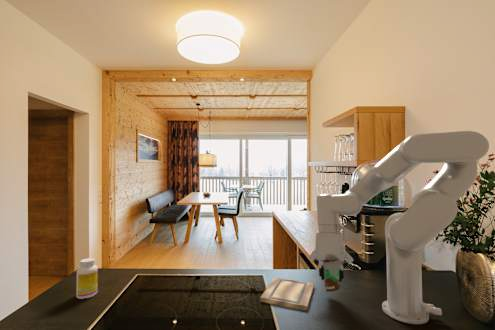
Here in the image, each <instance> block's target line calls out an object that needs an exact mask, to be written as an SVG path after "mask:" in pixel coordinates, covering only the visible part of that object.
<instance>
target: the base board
mask: <svg viewBox="0 0 495 330" xmlns="http://www.w3.org/2000/svg"><path fill="white" fill-rule="evenodd" d="M313 289H315V283H314V282H306V281H300V280H294V279H290V278H289V279H288V278H282V277H274V278H272V280H271V282H270V283H269V285H268V286H267V287H266V288H265V290H264V291H263V293H262V295H261V296H259V297H260V298H259V299H260V302H261V303H264V304H265V303H266V304H269V305H270V304H271V305H275V306H281V307H285V308H291V309H296V310H300V309H301V310H302V311H305V310H307V309H308V310H309V305H310V303H311V300H310V299H312V296H313V293H314V290H313ZM308 310H307V311H308Z"/></svg>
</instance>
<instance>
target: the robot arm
mask: <svg viewBox="0 0 495 330" xmlns="http://www.w3.org/2000/svg"><path fill="white" fill-rule="evenodd" d="M489 144H490V143H489V141H488V139H487V138H486V136H485V135H483V134H481V133H480V132H476V131H474V130H473V131H472V130H461V131H448V132H447V131H446V132H430V133H416V134H411V135H409V136H408V137H407V138H405V139H403V140H402V141H401V142H400V143H399V144H398V145H397V146H395V147H394V148H393V149H392V150H391V151H390V152H389V153H387V154H386V155H385V156H384V157H383V158H382V159H381V160H379V161H377V163H376V164H375V165H374V166H372V167H371V168H370V169H369V170H368V172H367V173H366V174H365V175H364V176H363V177H362V178H360V179H359V180H358V181H357V182H356V183H355V184H354V185H353V186H351V187H350V188H349V189H348V190H346V191H345V192H344V193H342V194H336V193H330V192H328V193H327V192H326V193H320V194H317V195H316V213H317V230H316V232H315V241H314V245H315V247H314V249H313V251H312V252H311V253H309V255H308V258H309V259H310V260H311V261H312V262H313V264H315V265H316V267H317V268H318V274H319V275H318V276H319V277H320V279H321V281H324V267H323V261H324V260H326V261H338V260H339V261H340V262H341V264H342V266H341V267H340V277H339V281H340V283H342V282H343V280H344V278H345V277H344V276H345V275H344V274H345V273H344V270H345V269H346V268H347V267H348V266H349V265H351V264H352V263H353V262H354V258H353V257H352V256H351V255H350V254H349V253H348V252H347V250H346V245H345V237H344V233H343V231H342V230H345V225H343V224H341V223H340V215H343V216H351V217H352V216H353V217H354V216H356V215H359V213H361V211H362V209H363V206H364V205H365V204H367V203H368V202H369V201H370V200H372V199H373V198H374V197H375V196H377V195H378V194H380V193H382V192H384V191H386V190H387V189H390V188H392V187H393V186H395V185H397V183H398V182H400V181H401V180H403V178H404V177H406V176H407V175H408V174H409V173H411V171H413V170H414V169H415V168H417V167H418V166H419V165H420V164H423V163H424V164H425V163H426V164H428V163H429V164H430V163H431V164H433V163H435V164H436V163H437V164H439V163H442V167H441V169H440V170H439V171H438V173H436V174H435V175H434V177H432V179H431V180H430V181H429V182H427V183H426V184H425V185H424V186H423V187H422V188H420V189H419V190H418V191H417V192H416V193H415V194H414V195H413V196H412V199H411V202H410V206H409V208H407V209H406V210H405V211H403V212H395V213H393V214H391V215H389V217H388V218H387V219H386V221H385V224H384V235H385V248H386V249H385V251H386V288H387V289H386V297H387V298H386V299H387V300H384V301H383V302H382V304H381V309H382V311H383V312H384V313H385V314H386V315H387V316H389V317H390V318H392V319H394V320H396V321H398V322H402V323H405V324H410V325H423V324H426V323H428V321H429V320H430V316H429V315H430V314H433V315H437V316H442V315H443V311H442V308H440V307H436V306H435V305H434V304H432V303H425V301H424V300H423V282H422V281H423V278H422V277H423V275H422V252H421V250H422V248H424V247H425V246H427V244H429V243H430V242H432V240H433V239H434V238H436V237H437V236H438V235H439V234H440V233H441V232H443V231H444V230H445V229H446V228H448V226H449V225H450V224H451V223H452V222H453V221H454V220H455V219H456V217H457V215H458V211H459V209H458V208H459V207H458V203H457V202H458V201H459V199H460V198H461V197H462V196H464V194H465V193H466V192H467V191H468V190H469V189H470V188H471V187H472V186H473V184H475V181H476V179H477V176H478V162H477V161H479V160H480V159H482V158H483V157H485V156H486V155H487V153H488V152H489V149H490V145H489ZM346 259H347V260H346Z"/></svg>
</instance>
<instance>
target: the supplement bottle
mask: <svg viewBox="0 0 495 330" xmlns="http://www.w3.org/2000/svg"><path fill="white" fill-rule="evenodd" d="M95 262H96V258H94V257H89V258H84V259H80V260H79V266H80V267H78V268H77V270H76V284H75V285H76V287H75V288H76V289H75V290H76V293H75V295H76V298H77V299H79V300H84V299H85V298H86V299H89V298H92V297H94V296H95V295H97V294H98V284H99V283H98V282H99V281H98V280H99V273H98V272H99V267H98V266H97V265H96V264H95Z"/></svg>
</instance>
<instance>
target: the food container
mask: <svg viewBox="0 0 495 330" xmlns="http://www.w3.org/2000/svg"><path fill="white" fill-rule="evenodd" d="M322 265H323V267H324V279H323V285H324V287H325V288H324V289H325V291H326V292H335V291H338V290H339V289H340V287H341V284H340V283H341V282H340V281H339V277H340V267H341V266H342V264H341V262H340V261H339V260H338V261H326V260H324V261H323V263H322Z"/></svg>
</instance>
